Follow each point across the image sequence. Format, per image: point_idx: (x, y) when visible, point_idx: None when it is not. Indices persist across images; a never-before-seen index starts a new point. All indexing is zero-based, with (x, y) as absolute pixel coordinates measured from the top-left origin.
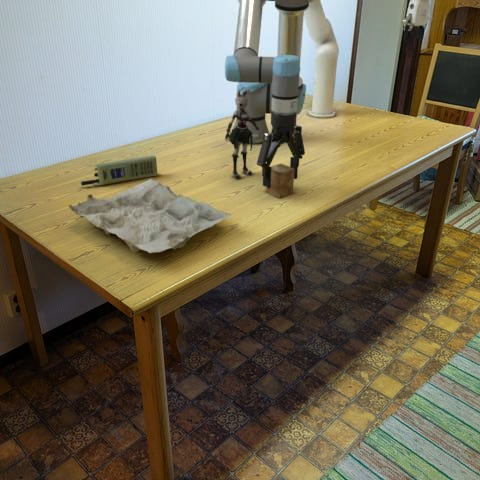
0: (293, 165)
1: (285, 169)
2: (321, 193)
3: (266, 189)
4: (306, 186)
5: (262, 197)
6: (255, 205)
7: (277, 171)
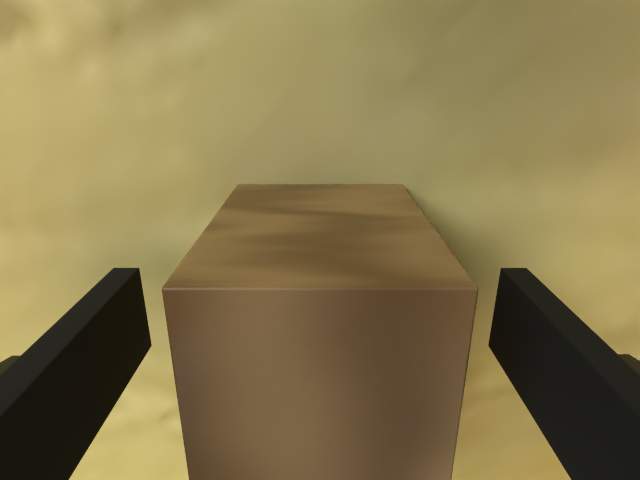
0: (564, 411)
1: (337, 473)
2: (537, 437)
3: (234, 190)
4: (574, 305)
5: (141, 246)
6: (16, 314)
7: (198, 461)
